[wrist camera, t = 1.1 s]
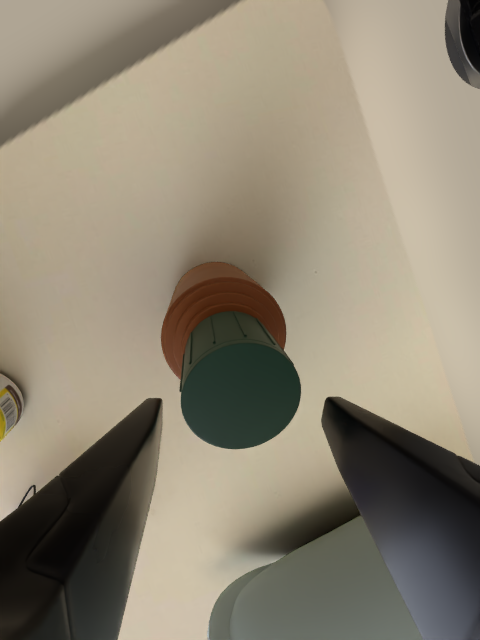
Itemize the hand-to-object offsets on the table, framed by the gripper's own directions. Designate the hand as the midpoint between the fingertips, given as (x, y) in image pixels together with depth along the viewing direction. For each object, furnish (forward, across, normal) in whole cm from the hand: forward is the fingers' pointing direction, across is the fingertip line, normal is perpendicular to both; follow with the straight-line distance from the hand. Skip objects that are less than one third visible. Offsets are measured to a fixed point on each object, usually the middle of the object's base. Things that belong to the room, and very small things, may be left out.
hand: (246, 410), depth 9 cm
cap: (+4, 0, 0) cm, 4 cm away
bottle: (+13, 0, 0) cm, 13 cm away
